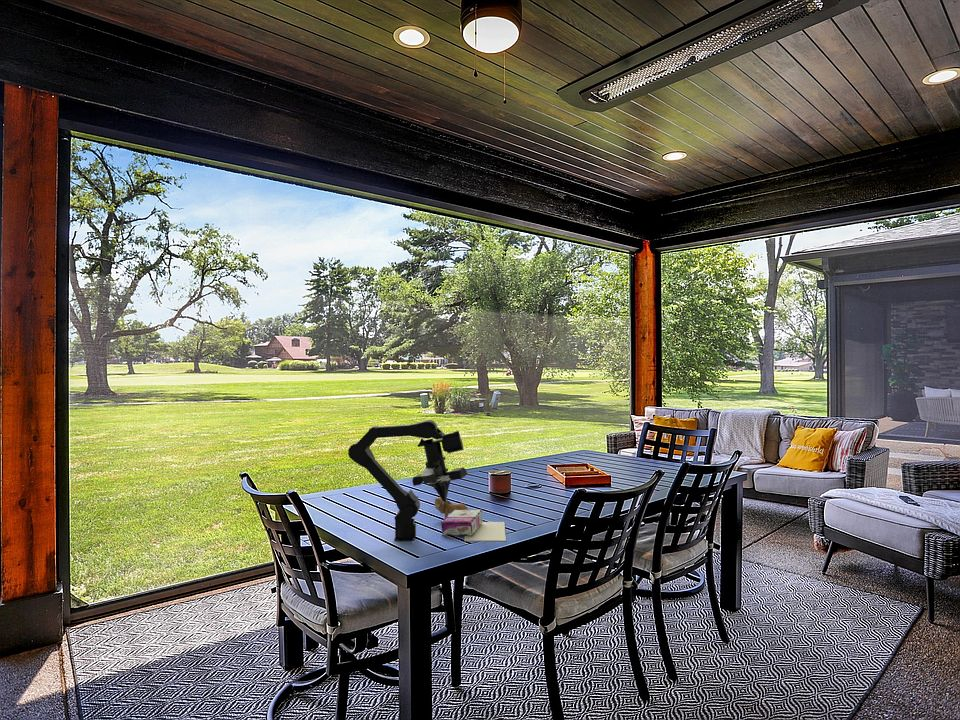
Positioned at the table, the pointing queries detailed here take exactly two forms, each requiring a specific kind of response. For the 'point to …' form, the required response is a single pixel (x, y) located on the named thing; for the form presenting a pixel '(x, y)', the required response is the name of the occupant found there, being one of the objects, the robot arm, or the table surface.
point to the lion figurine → (447, 506)
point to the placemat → (488, 532)
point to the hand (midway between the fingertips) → (444, 501)
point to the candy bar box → (462, 522)
